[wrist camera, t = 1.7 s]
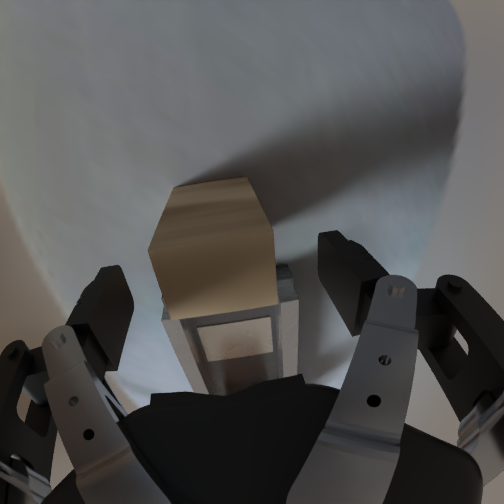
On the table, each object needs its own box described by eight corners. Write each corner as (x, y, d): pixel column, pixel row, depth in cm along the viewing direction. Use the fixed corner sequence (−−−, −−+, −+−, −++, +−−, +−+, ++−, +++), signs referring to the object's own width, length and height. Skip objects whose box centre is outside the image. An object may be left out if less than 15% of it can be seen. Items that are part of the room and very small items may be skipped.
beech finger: (253, 235, 17) (278, 315, 10) (186, 246, 16) (175, 331, 10) (246, 176, 15) (273, 230, 9) (173, 188, 14) (147, 250, 8)
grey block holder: (164, 283, 17) (146, 398, 10) (287, 264, 18) (334, 371, 11) (214, 410, 26) (221, 482, 18) (289, 398, 26) (308, 468, 19)
